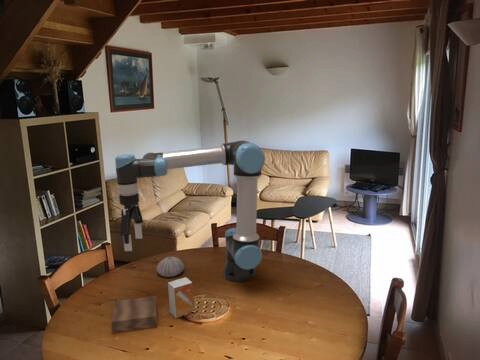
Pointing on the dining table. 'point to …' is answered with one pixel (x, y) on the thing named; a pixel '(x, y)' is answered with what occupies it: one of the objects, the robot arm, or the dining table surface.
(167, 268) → the sea urchin shell
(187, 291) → the small box
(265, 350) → the dining table surface
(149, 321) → the walnut block
